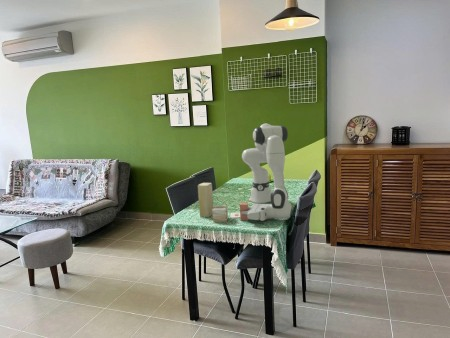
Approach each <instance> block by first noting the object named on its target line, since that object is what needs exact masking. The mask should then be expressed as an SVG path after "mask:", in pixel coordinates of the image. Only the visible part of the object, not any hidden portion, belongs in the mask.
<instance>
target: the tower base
mask: <svg viewBox="0 0 450 338" xmlns="http://www.w3.org/2000/svg"><path fill="white" fill-rule="evenodd" d="M212 214H213V215H212V222H213V223H227V221H228V218H229V214H228V205H213V209H212Z"/></svg>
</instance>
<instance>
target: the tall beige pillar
mask: <svg viewBox="0 0 450 338" xmlns="http://www.w3.org/2000/svg"><path fill="white" fill-rule="evenodd" d="M213 195H214V194H213V183H212V182H202V183H199V184H198V185H197V196H198V207H199V217H201V218H211V216H213V214H212V209H213V208H214V197H213Z"/></svg>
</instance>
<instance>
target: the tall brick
mask: <svg viewBox="0 0 450 338" xmlns="http://www.w3.org/2000/svg"><path fill="white" fill-rule="evenodd" d="M248 207H249V203H248V202H240V204H239V212H240V221H244V222H245V221H249V219H248V217H247V215H245V214H242V211H249V210H248Z"/></svg>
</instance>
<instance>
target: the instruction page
mask: <svg viewBox="0 0 450 338" xmlns="http://www.w3.org/2000/svg"><path fill="white" fill-rule="evenodd" d="M229 216H230V217H229V218H231V219H236V218H240V211H238V212H230V215H229Z"/></svg>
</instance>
